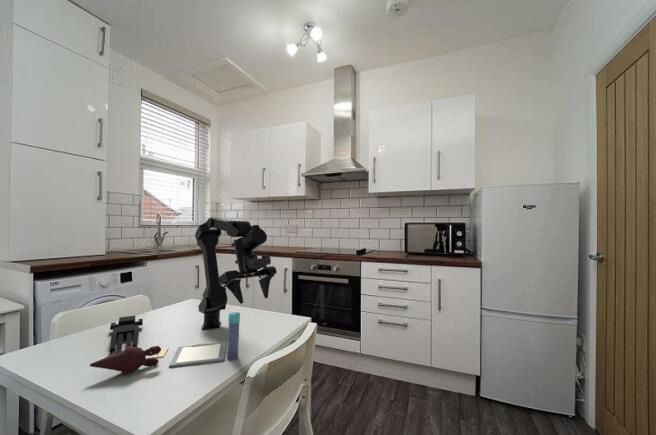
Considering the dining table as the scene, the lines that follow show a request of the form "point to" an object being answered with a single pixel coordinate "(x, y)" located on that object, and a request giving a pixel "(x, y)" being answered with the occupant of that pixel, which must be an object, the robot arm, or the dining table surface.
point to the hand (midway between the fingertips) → (254, 300)
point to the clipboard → (198, 354)
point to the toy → (124, 333)
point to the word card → (160, 353)
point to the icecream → (128, 359)
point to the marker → (233, 335)
